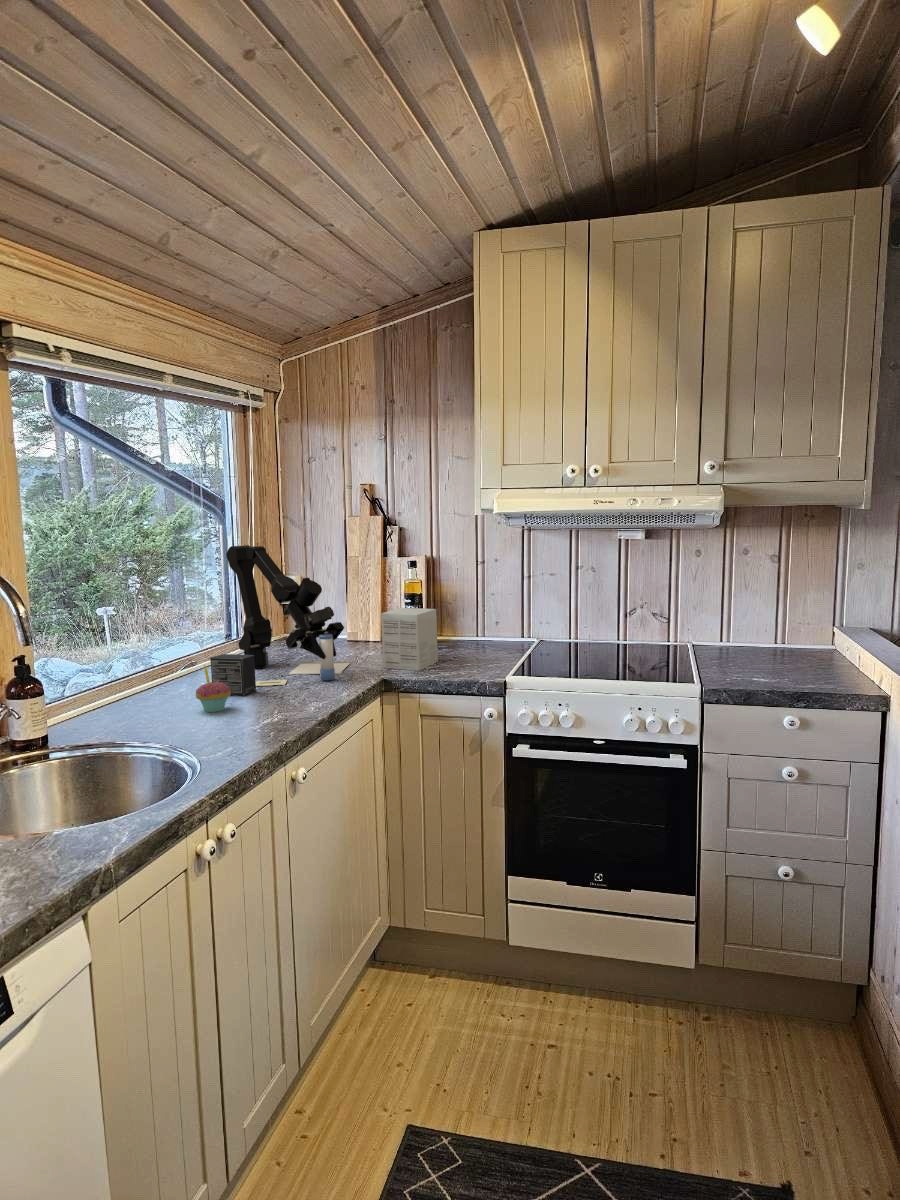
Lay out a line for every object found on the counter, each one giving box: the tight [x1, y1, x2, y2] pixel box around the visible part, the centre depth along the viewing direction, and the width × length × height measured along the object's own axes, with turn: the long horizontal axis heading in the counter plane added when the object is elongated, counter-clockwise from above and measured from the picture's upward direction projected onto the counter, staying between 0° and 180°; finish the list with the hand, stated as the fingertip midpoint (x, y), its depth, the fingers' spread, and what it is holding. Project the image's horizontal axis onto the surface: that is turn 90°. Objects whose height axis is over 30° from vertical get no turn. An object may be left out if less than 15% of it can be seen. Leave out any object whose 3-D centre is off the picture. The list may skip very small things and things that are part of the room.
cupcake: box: [195, 664, 232, 713], centre depth 198 cm, size 9×8×12 cm
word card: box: [255, 679, 288, 687], centre depth 226 cm, size 9×6×1 cm, turn 96°
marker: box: [318, 634, 336, 681], centre depth 228 cm, size 4×4×13 cm
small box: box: [209, 653, 257, 697], centre depth 216 cm, size 11×6×10 cm, turn 71°
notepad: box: [288, 661, 352, 675], centre depth 245 cm, size 16×16×1 cm
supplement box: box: [380, 607, 439, 672], centre depth 246 cm, size 13×13×18 cm
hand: (330, 656), depth 227 cm, fingers closed on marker, 4 cm apart
